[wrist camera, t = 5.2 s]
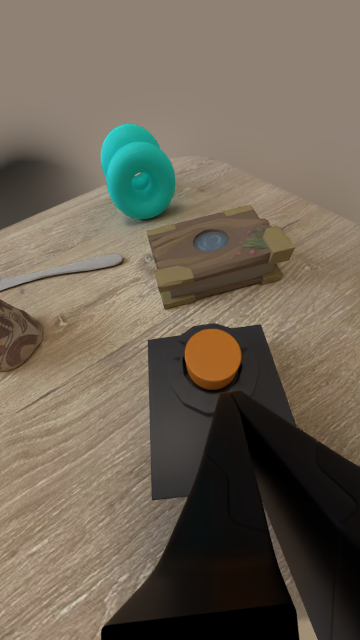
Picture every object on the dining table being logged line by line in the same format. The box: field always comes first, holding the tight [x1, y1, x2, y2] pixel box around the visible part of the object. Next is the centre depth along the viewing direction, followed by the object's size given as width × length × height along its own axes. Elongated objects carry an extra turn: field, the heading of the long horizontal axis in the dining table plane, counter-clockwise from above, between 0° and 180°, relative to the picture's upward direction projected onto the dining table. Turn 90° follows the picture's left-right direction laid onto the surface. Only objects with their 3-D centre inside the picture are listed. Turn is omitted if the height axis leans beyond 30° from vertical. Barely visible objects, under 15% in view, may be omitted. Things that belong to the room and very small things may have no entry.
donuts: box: [101, 124, 175, 219], centre depth 33 cm, size 10×10×10 cm
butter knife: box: [0, 254, 123, 290], centre depth 30 cm, size 1×27×3 cm
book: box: [147, 205, 295, 309], centre depth 26 cm, size 15×11×5 cm
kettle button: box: [185, 329, 241, 390], centre depth 14 cm, size 4×4×2 cm
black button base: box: [148, 323, 296, 500], centre depth 17 cm, size 11×10×6 cm
